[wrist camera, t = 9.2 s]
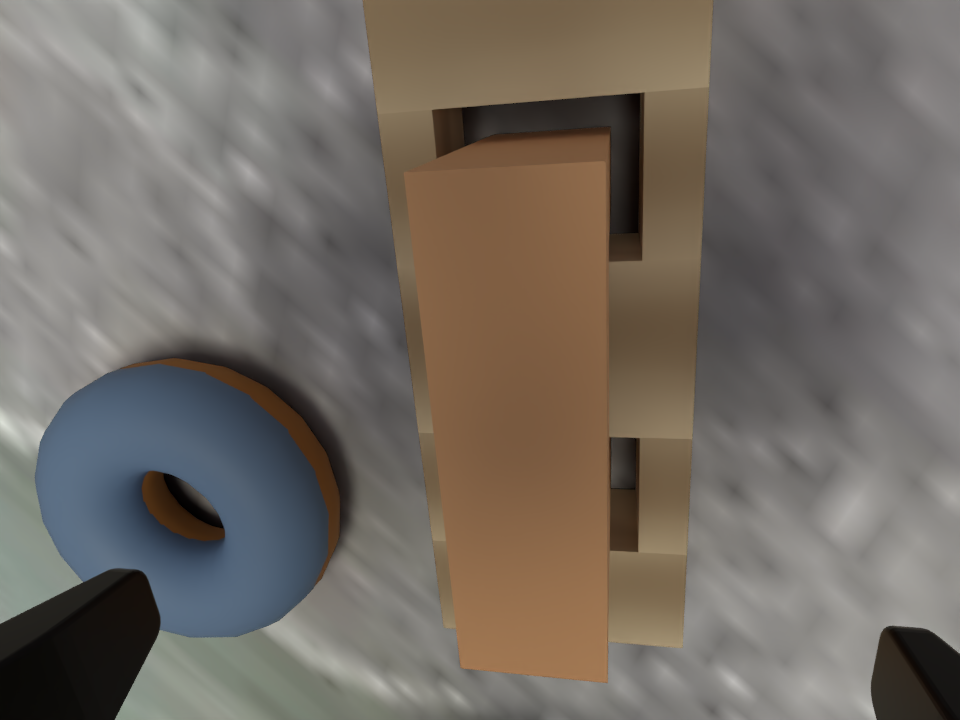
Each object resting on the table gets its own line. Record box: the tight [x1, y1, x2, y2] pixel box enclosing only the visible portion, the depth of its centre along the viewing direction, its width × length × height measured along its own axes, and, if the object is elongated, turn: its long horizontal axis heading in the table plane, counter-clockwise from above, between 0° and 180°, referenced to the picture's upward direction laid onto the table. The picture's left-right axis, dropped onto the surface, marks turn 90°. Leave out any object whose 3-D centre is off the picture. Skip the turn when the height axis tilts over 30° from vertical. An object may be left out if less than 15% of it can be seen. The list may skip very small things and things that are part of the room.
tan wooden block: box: [404, 127, 611, 683], centre depth 15 cm, size 10×3×8 cm, turn 5°
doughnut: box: [35, 358, 340, 637], centre depth 22 cm, size 10×10×5 cm
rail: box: [363, 0, 713, 648], centre depth 17 cm, size 18×7×3 cm, turn 5°
